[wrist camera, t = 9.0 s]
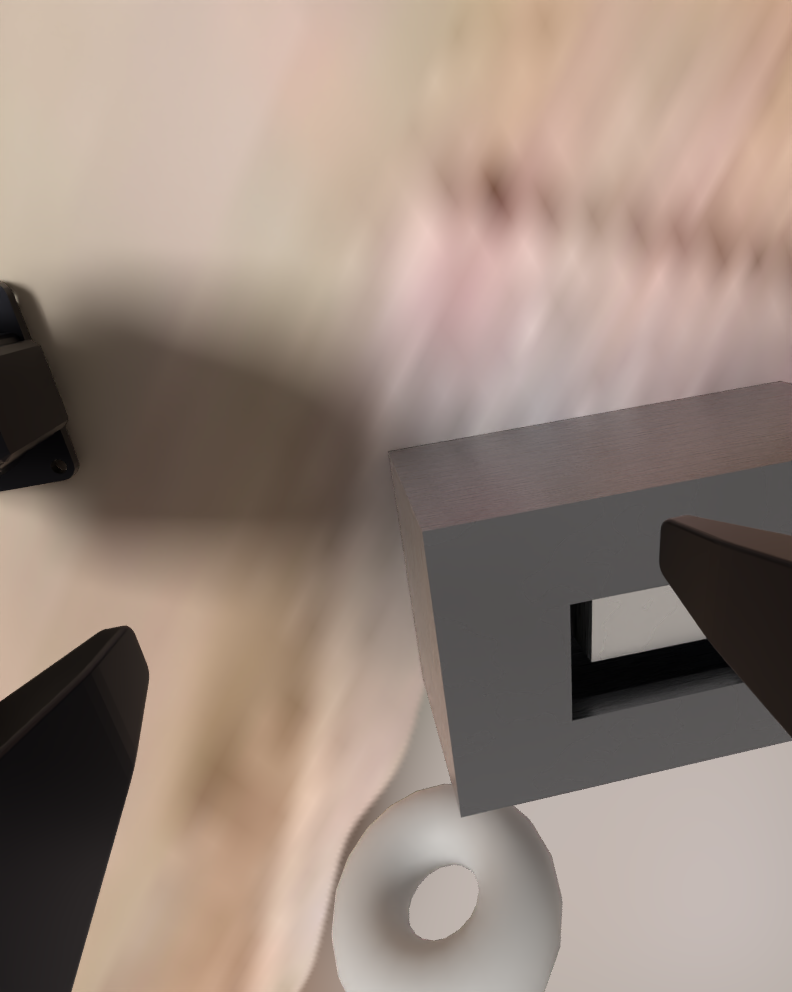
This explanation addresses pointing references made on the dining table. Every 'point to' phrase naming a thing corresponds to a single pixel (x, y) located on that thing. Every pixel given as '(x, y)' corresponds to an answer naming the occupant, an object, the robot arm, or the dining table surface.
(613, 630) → the light grey block
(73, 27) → the dining table surface
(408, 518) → the cash box
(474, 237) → the dining table surface
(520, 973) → the donut
